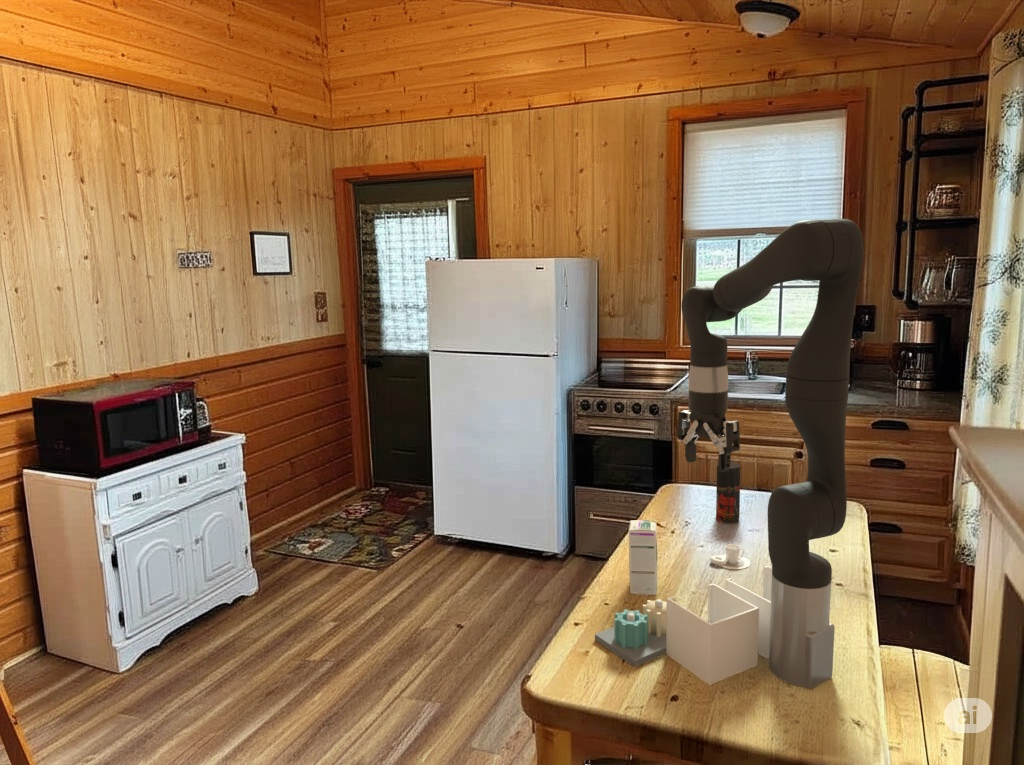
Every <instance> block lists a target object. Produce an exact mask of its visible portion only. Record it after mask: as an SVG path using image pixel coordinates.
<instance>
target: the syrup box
mask: <svg viewBox="0 0 1024 765" xmlns="http://www.w3.org/2000/svg"><path fill="white" fill-rule="evenodd" d="M657 533H658V532H657V521H655V520H649V519H636V520H630V521H629V526H628V560H629V561H628V563H629V564H628V565H629V566H628V567H629V568H628V569H629V570H628V571H629V593H630V594H633V595H644V596H645V595H646V596H647V595H648V596H657V594H658V539H657V535H658V534H657Z"/></svg>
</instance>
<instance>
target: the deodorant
mask: <svg viewBox="0 0 1024 765" xmlns="http://www.w3.org/2000/svg"><path fill="white" fill-rule="evenodd" d="M715 491H716V492H715V493H716V496H715V497H716V498H715V499H716V500H715V507H716V508H715V520H716V521H717V522H719V523H722V524H729V525H732V524H738V523H739V522H740V510H741V509H740V508H741V506H740V504H741V499H740V498H741V495H740V494H741V464H740V463H738V462H733V461H730V469H729V470H728V471H725V472H720V471H719V462H718V463H717V464H716V490H715Z"/></svg>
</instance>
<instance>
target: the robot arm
mask: <svg viewBox="0 0 1024 765" xmlns="http://www.w3.org/2000/svg"><path fill="white" fill-rule="evenodd" d="M864 249H865V248H864V237H863V235H862V231H861V229H860V227H859V226H858V225H857V224H856V222H855V221H853V220H850V219H848V218H819V219H818V218H817V219H816V218H813V219H805V220H799V221H797V222H794V223H793V224H791V225H790V226H788V227H787V228H786V229H784V230H783V231H782V232H781V233H779V234H778V235H777V236H776V237H775V238H774V239H773V240H772V241H771V242H770V243H769V244H768V245H767V246H765V247H764V248H763V249H762V250H761V251H760V252H759V253H757V254H756V255H755V256H754V257H753V258H751V259H750V260H749V261H747V262H746V263H744V264H743V265H740V266H738V267H736V268H735V269H733V270H731V271H729V272H728V273H726V274H724V275H722V276H721V277H720V278H719V279H718V280H717V281H716V282H715V284H714V285H702V286H699V285H698V286H692V287H689V288H688V289H686V291H685V292H684V294H683V296H682V298H681V306H680V307H681V312H682V317H683V320H684V324H685V328H686V332H687V334H688V335H687V337H688V339H689V340H688V341H689V345H690V352H689V354H690V356H689V357H690V361H689V362H690V363H689V364H690V365H689V371H688V372H689V373H688V405H687V406H688V409H686V410H682V411H679V412H678V413H677V414H678V415H677V430H676V438H677V440H681V441H683V444H684V445H685V446H684V449H685V450H684V452H685V454H684V456H685V460H686V462H687V463H693V462H694V463H695V462H696V461H697V443H696V442H697V440H698V438H702V437H703V438H705V439H708V440H711V442H712V444H713V445H715V446H716V448H717V450H718V451H719V453H718V463H719V471H720V472H725V471H728V470H729V469H730V462H732V461H731V456H732V453H735V452H739V451H740V449H741V443H740V442H741V438H740V421H738V420H733V421H732V420H731V421H730V420H727V418H726V413H727V411H728V407H729V406H728V400H729V399H728V398H729V372H728V340H727V338H726V337H725V335H722V334H718V333H712V332H710V330H709V328H708V324H707V323H717V322H725V321H729V320H732V319H733V318H736V317H737V316H738V314H740V312H741V311H742V310H744V309H746V308H748V307H751V306H752V305H755V304H757V303H759V302H761V301H762V300H763V299H765V298H767V297H768V295H769V294H770V293H771V291H772V290H773V288H774V286H776V285H778V284H782V283H788V282H792V281H805V282H813V281H814V282H815V281H816V282H818V281H819V282H818V293H817V299H816V305H815V308H814V312H813V315H812V317H811V319H810V320H809V323H808V325H807V327H806V328H805V330H804V331H803V332H802V334H801V336H800V338H798V340H797V342H796V344H795V346H794V348H793V350H792V351H791V354H790V356H789V357H788V361H787V364H786V365H787V366H786V372H785V392H784V394H785V395H784V396H785V399H784V400H785V402H784V403H785V406H786V407H785V408H786V411H787V413H788V415H789V417H790V419H791V421H792V423H793V425H794V426H795V428H796V431H797V432H798V433H799V435H800V436H801V438H802V441H803V443H804V445H805V448H806V452H807V475H806V476H807V477H806V481H804V482H797V483H793V484H792V483H791V484H786V485H785V484H784V485H780V486H779V487H776V488H775V489H774V490H772V492H771V494H770V496H769V498H768V503H767V541H768V542H767V543H768V546H767V547H768V555H769V559H770V563H771V567H772V588H771V615H770V644H769V645H770V646H769V660H768V669H769V670H770V672H771V673H772V675H773V676H775V677H776V678H778V679H779V680H780V681H782V682H786V683H789V684H791V685H795V686H803V687H805V688H807V689H809V690H810V689H813V688H815V687H817V686H819V685H820V684H822V683H824V682H825V681H827V680H829V679H831V678H833V670H834V669H833V668H834V666H833V665H834V649H835V648H834V647H835V628H836V627H835V625H834V624H833V623H831V622H830V617H831V616H830V614H831V613H830V612H831V596H832V579H833V577H832V576H833V570H832V565H831V562H830V561H829V560H828V559H826V558H825V557H823V556H821V555H820V554H817V553H815V552H813V551H810V541H812V540H817V539H818V540H819V539H822V538H826V537H831V536H833V535H835V534H838V533H839V532H840V531H841V530H842V529H843V527H844V525H845V521H846V517H847V510H848V509H847V507H848V504H847V502H848V501H847V499H848V498H847V479H846V456H845V455H846V451H845V450H846V428H847V427H846V426H847V422H846V421H847V411H848V410H847V409H848V402H849V400H848V399H849V388H850V368H851V367H850V365H851V364H850V362H851V360H850V358H851V348H852V338H853V328H854V327H853V325H854V318H855V311H856V310H855V308H856V305H857V304H856V303H857V297H858V292H859V291H858V290H859V286H860V281H861V274H862V269H863V262H864V253H865V251H864Z"/></svg>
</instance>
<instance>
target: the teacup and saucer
mask: <svg viewBox="0 0 1024 765" xmlns="http://www.w3.org/2000/svg"><path fill="white" fill-rule="evenodd" d="M724 546H725V547H724V548H725V549H724V550H725V554H721V555H711V556H710V557H709V560H710V562H711V564H712V563H713V564H714V565H717V566H719V567H721V568H723V569H728V570H744V569H747V568H748V567H749V568H750V566H751V561H750V560H749V559H748V558H746V557H744V554H745V549H744V548H743V547H740V546H739V545H737V544H733V543H728V544H725V545H724ZM741 550H742V553H741V555H740V551H741ZM739 560H741V561H743V563H744V564H743V565H741V566H735V567H734V566H733V567H732V566H727V565H726V564H727V563H728V564H731V565H733V564H734V565H735V564H737V563H738V562H739Z"/></svg>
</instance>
